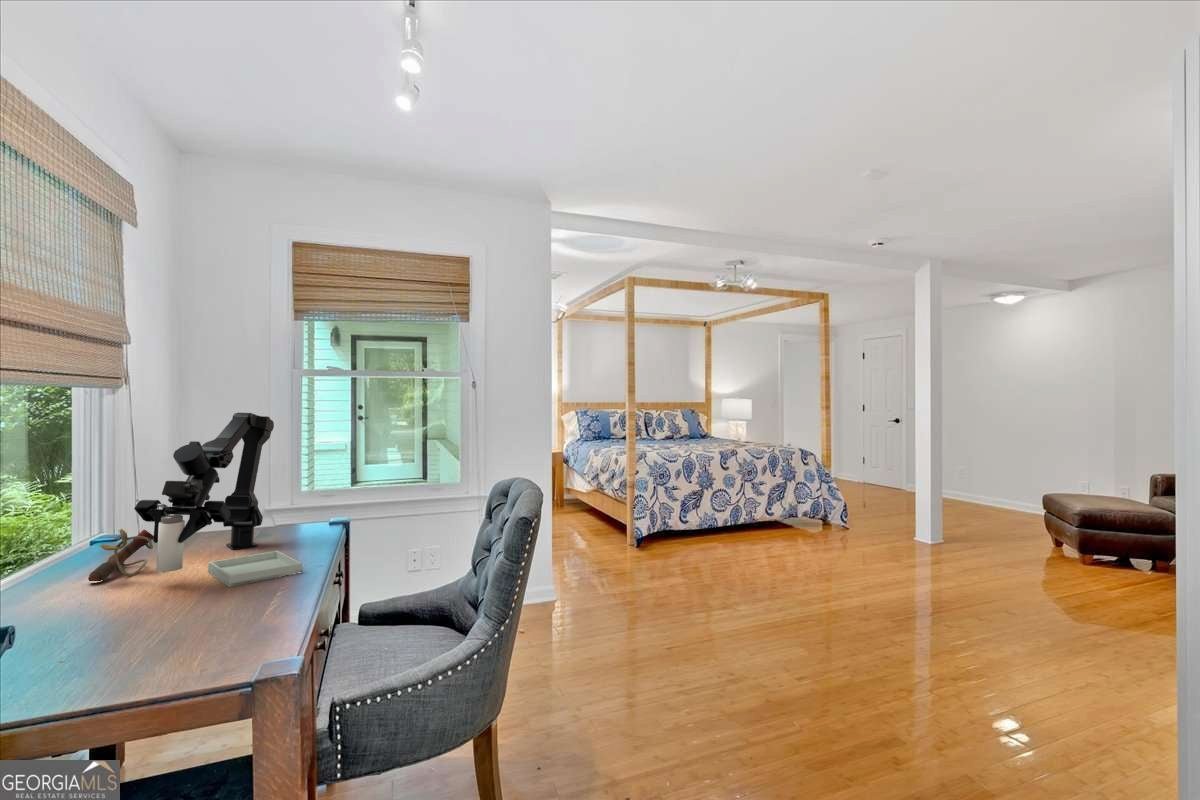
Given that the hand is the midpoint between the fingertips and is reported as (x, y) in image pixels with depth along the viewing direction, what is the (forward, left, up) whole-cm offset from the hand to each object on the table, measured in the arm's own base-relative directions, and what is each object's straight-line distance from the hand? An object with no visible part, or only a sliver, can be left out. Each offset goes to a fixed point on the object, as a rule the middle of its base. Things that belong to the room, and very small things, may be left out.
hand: (167, 542), depth 125 cm
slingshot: (-17, -4, -11) cm, 21 cm away
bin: (+2, +18, -10) cm, 21 cm away
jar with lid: (-1, +1, -7) cm, 7 cm away
